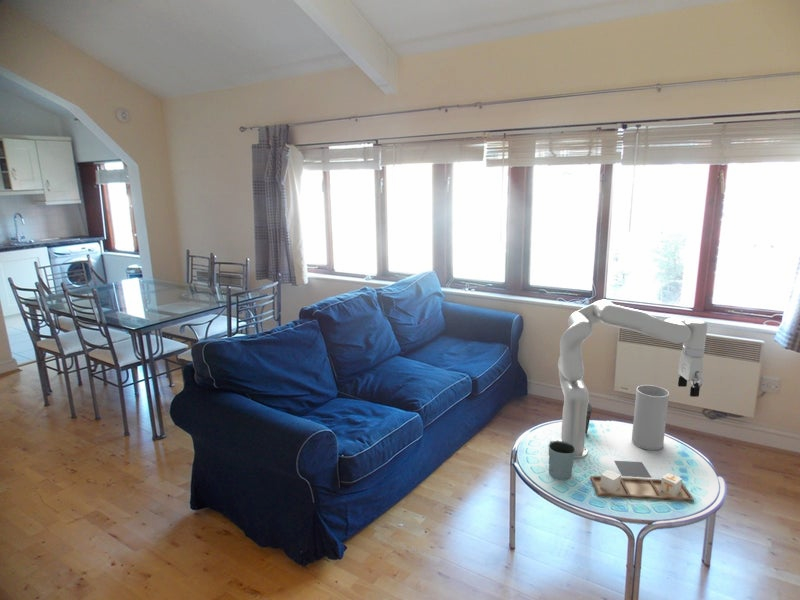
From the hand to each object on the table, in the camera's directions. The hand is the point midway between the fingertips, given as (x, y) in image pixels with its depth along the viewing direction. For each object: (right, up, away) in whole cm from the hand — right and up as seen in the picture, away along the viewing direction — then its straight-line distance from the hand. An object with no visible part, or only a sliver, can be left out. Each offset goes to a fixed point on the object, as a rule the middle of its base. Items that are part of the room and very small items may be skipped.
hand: (688, 391), depth 201 cm
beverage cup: (-32, -25, +30) cm, 50 cm away
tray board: (-26, -35, -14) cm, 46 cm away
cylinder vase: (-7, -27, +19) cm, 34 cm away
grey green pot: (-52, -33, -2) cm, 62 cm away
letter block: (-15, -35, -15) cm, 41 cm away
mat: (-23, -32, 0) cm, 39 cm away
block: (-37, -34, -12) cm, 52 cm away
